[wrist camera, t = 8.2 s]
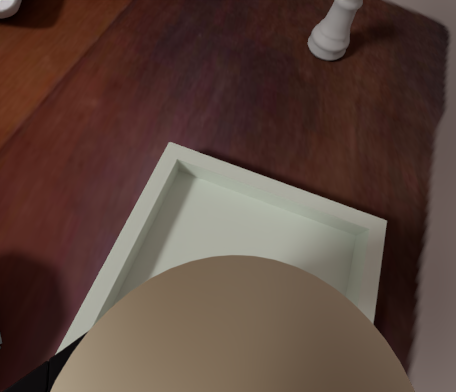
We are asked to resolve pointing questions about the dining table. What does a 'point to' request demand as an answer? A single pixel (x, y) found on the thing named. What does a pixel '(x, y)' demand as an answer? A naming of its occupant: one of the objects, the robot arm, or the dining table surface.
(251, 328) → the maple dowel
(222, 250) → the sage tray
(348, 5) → the rook chess piece
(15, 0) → the salad plate
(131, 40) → the dining table surface
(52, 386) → the robot arm
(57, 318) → the dining table surface
